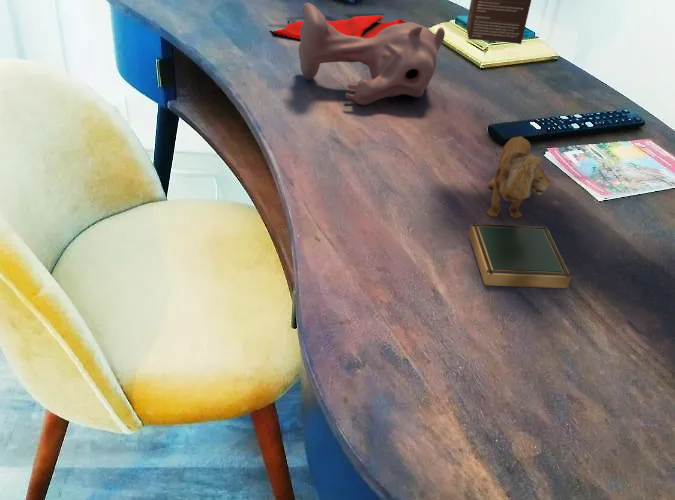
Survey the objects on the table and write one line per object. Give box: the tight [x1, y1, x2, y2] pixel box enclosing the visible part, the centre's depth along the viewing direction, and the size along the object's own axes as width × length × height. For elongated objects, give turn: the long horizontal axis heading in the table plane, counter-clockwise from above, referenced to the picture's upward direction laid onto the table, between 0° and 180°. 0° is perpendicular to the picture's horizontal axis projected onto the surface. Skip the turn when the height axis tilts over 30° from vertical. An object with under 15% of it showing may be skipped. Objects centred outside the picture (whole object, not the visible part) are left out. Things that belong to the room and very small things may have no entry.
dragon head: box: [298, 2, 446, 106], centre depth 94 cm, size 14×13×20 cm
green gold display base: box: [468, 222, 572, 289], centre depth 67 cm, size 8×8×2 cm
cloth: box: [273, 14, 407, 40], centre depth 115 cm, size 26×14×2 cm, turn 100°
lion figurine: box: [486, 135, 553, 219], centre depth 73 cm, size 15×5×9 cm, turn 174°
